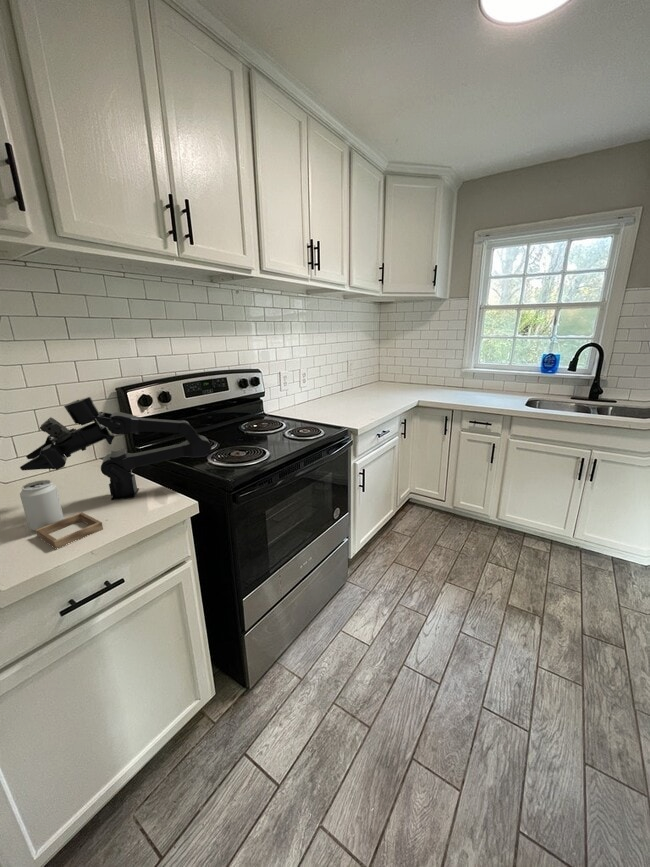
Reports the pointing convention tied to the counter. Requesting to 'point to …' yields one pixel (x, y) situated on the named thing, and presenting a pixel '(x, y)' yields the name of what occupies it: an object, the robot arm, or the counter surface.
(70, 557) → the counter surface
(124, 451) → the robot arm
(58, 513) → the can
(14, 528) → the counter surface
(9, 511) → the counter surface
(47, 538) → the frame
